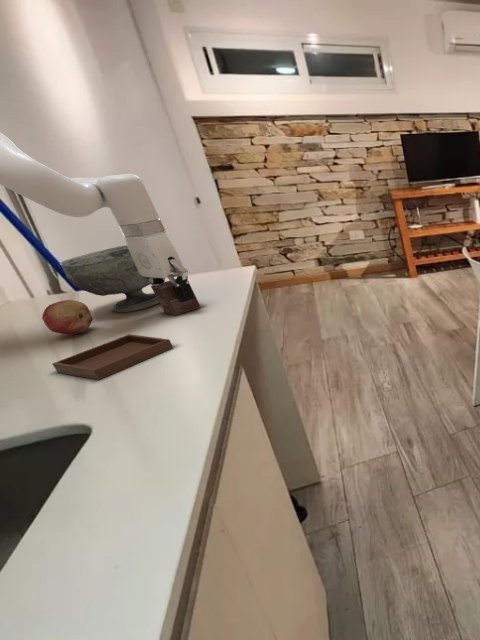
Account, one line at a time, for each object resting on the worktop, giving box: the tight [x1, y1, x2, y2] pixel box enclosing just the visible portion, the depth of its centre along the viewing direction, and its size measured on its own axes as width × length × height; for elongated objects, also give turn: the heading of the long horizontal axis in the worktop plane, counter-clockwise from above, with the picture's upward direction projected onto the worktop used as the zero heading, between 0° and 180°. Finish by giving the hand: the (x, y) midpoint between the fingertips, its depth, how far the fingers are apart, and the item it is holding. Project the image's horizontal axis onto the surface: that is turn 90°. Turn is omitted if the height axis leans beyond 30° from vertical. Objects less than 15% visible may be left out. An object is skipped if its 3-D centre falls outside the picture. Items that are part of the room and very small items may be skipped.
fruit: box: [41, 299, 93, 336], centre depth 110 cm, size 8×8×8 cm
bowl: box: [59, 244, 160, 313], centre depth 123 cm, size 20×19×15 cm
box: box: [150, 278, 201, 316], centre depth 120 cm, size 6×6×7 cm
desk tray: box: [51, 333, 174, 381], centre depth 96 cm, size 13×13×2 cm
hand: (177, 298), depth 120 cm, fingers closed on box, 6 cm apart
